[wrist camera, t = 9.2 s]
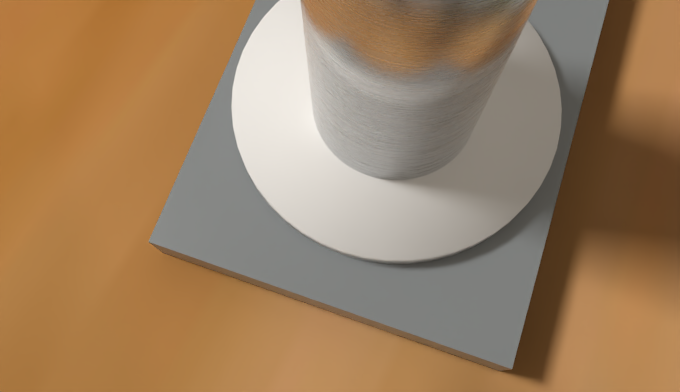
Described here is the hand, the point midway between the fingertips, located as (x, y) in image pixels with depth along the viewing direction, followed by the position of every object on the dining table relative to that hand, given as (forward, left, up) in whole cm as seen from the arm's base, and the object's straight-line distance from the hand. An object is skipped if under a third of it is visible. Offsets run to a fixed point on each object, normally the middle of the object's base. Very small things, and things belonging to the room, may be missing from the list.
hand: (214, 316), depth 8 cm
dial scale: (+7, -10, -11) cm, 16 cm away
